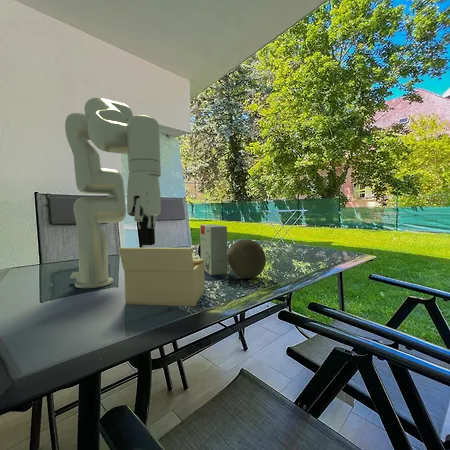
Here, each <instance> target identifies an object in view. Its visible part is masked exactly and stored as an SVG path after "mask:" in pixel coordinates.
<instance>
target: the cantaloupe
mask: <svg viewBox="0 0 450 450" xmlns="http://www.w3.org/2000/svg"><path fill="white" fill-rule="evenodd" d="M227 263H228V265H229V268H230V269H231V271H232V272H233V273H234V274H235V275H236V276H238V277H240V278H241V279H245V280H246V279H247V280H250V279H254V278H257V277H258V276H259V275H261V274H262V272H263V271H264V270H265V267H266V264H267V258H266V253H265V251H264V248H263V247H262V246H261V244H260V243H258V242H257V241H255V240H253V239H242V240H239V241H236V242H234V243H233V244H232V245H231V247H230V248H229V249H228V251H227Z"/></svg>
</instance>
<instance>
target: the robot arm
mask: <svg viewBox="0 0 450 450" xmlns="http://www.w3.org/2000/svg"><path fill="white" fill-rule="evenodd" d="M64 129H65V136H66V139H67V143H68V145H69V146H70V147H69V148H70V150H71V153H72V155H73V163H74V164H73V165H74V167H73V168H74V174H75V175H74V176H75V183H76V188H77V190H78V191H79V192H80V193H82V194H83V193H84V194H90V195H91V194H92V195H108V196H107V197H106V196H83V197H80V198H77V199H76V200H75V201H74V203H73V206H72V207H73V208H72V209H73V214H74V220H75V223H76V230H77V250H78V251H77V253H78V254H77V255H78V271H77V272H76V271H75V272H74V271H73V272H72V273H71V274H70V276H69V277H70V279H76V281H75V282H74V287H75V288H78V289H95V288H101V287H106V286H108V285H111V284H112V283H113V282H114V278H113V277H111V276H109V255H108V236H107V232H106V231H105V229H104V228H103V227H102V226H101V225H100V224H106V223H107V224H108V223H109V224H110V223H111V224H112V223H120V222H122V221H124V220H125V218H126V215H128V216H130V217H134V221H135V222H137V225H138V229H139V244H140V246H153V245H155V244H156V233H155V231H156V230H155V228H156V221H157V220H158V216H159V215H160V214H161V212H162V201H161V200H162V198H161V189H160V188H161V186H160V180H159V179H160V178H159V177H161V176H162V174H161V173H162V170H161V168H162V167H161V143H160V142H161V141H160V125H159V122H158V120H157V119H156V118H154V117H152V116H149V115H143V114H138V115H137V114H136V115H134V114H133V111H132V109H131V108H130V106H129V105H127V104H125V103H121V102H118V101H115V100H110V99H106V98H103V97H92V98H91V97H90V99H88V100H87V101H86V102H85V105H84V113H83V112H82V113H81V112H73V113H70V114H68V115H67V116H66V118H65V123H64ZM90 141H91V142H92V144H93V145H92V144H91V143H90ZM94 146H95V147H96V148H97V149H98V150H100V151H103V152H107V153H112V154H113V153H115V154H122V155H127V163H128V164H127V165H128V166H127V167H128V178H127V186H126V189H127V190H126V194H125V186H124V185H125V183H124V179H123V176H122V174H121V173H120V172H119V171H118V170H117V169H111V168H104V167H102V165H101V157H100V154H99V153H98V150H97V149H96V148H95V147H94Z"/></svg>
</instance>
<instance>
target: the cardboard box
mask: <svg viewBox="0 0 450 450" xmlns="http://www.w3.org/2000/svg"><path fill="white" fill-rule="evenodd" d="M193 266H194V271H156V270H124V292H125V293H124V295H125V305H138V306H139V305H142V306H145V305H146V306H167V307H168V306H170V307H171V306H172V307H173V306H174V307H177V306H178V307H195V306H196V305H197V303H199V301H200V300H201V298H202V296H203V294H204V293H205V289H206V288H205V287H206V284H205V283H206V282H205V276H206V275H205V270H204V261H202V262H193Z"/></svg>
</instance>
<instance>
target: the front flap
mask: <svg viewBox="0 0 450 450" xmlns="http://www.w3.org/2000/svg"><path fill="white" fill-rule="evenodd" d="M118 252H119V256H120V261H121V265H122V268H123V271H125V270H156V271H194V266H193V259H194V258H193V249H192V247H119V248H118Z"/></svg>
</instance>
